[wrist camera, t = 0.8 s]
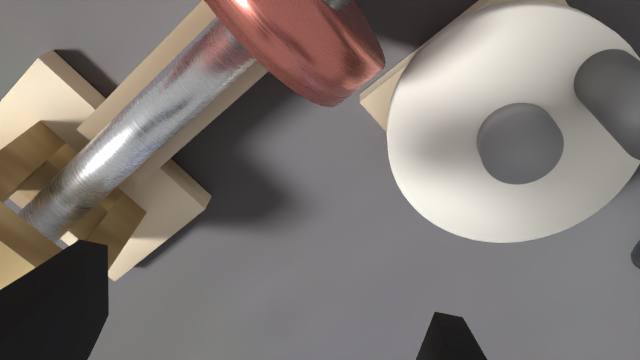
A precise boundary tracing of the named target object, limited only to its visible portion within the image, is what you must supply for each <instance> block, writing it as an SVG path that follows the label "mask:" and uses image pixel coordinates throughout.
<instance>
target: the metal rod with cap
mask: <svg viewBox="0 0 640 360" xmlns="http://www.w3.org/2000/svg"><path fill="white" fill-rule="evenodd" d="M205 2H206V3H207V4H208V6H209V7H210V8H211V10H212V11H213V12H214V14H215V15H216V17H215V18H214V19H213V20H212V21H211V22H210V23H209V24H208V25H207V26H206V27H205V28H204V29H203V30H202V31H201V32H200V33H199V34H198V35H197V36H196V37H195V38H194V39H193V40H192V41H191V42H190V43H189V44H188V45H187V46H186V47H185V48H184V49H183V50H182V51H181V52H180V53H179V54H178V55H177V56H176V57H175V58H174V59H173V60H172V61H171V62H170V63H169V64H168V65H167V66H166V67H165V68H164V69H163V70H162V71H161V72H160V73H159V74H158V75H157V76H156V77H155V78H154V79H153V80H152V81H151V82H150V83H149V84H148V85H147V86H146V87H145V88H144V89H143V90H142V91H141V92H140V93H139V94H138V95H137V96H136V97H135V98H134V99H133V100H132V101H131V102H130V103H129V104H128V105H127V106H126V107H125V108H124V109H123V110H121V111H120V112H119V113H118V114H117V115H116V116H115V117H114V118H113V119H112V120H111V121H110V122H109V123H108V124H107V125H106V126H105V127H104V128H103V129H102V130H101V131H100V132H99V133H98V134H97V135H96V136H95V137H94V138H93V139H92V140H91V141H90V142H89V143H88V144H87V145H86V146H85V147H84V148H83V149H82V150H81V151H80V152H79V153H78V154H77V155H76V156H75V157H74V158H73V159H72V160H71V161H70V162H69V163H68V164H67V165H66V166H65V167H64V168H63V169H62V170H61V171H60V172H59V173H58V174H57V175H56V176H55V177H54V178H53V179H52V180H51V181H50V182H49V183H48V184H47V185H46V186H45V187H44V188H43V189H42V190H41V191H40V192H39V193H38V194H37V195H36V196H35V197H34V198H33V199H32V200H31V201H30V202H29V203H28V204H27V205H26V206H25V207H24V208H22V209H21V210H20V211H19V212H18V213H17V214H18V215H19V216H20V217H21V218H23V219H24V220H25V221H27V222H28V223H29V224H30V225H32V226H33V227H34V228H36V229H37V230H38V231H39V232H41V233H42V234H43V235H44V236H46V237H47V238H48V239H50V240H51V241H52V242H53V243H56V242H57V241H58V240H59V239H60V238H61V237H62V236H64V235H65V234H66V233H67V232H68V231H69V230H70V229H71V228H72V227H73V226H75V225H76V224H77V223H78V222H79V221H80V220H81V219H82V218H83V217H84V216H86V215H87V214H88V213H89V212H90V211H91V210H92V209H93V208H94V207H96V206H97V205H98V204H99V203H100V202H101V201H102V200H103V199H104V198H105V197H107V196H108V195H109V194H110V193H111V192H112V191H113V190H114V189H115V188H117V187H118V186H119V185H120V184H121V183H122V182H123V181H124V180H125V179H126V178H128V177H129V176H130V175H131V174H132V173H133V172H134V171H135V170H136V169H137V168H139V167H140V166H141V165H142V164H143V163H144V162H145V161H146V160H147V159H149V158H150V157H151V156H152V155H153V154H154V153H155V152H156V151H157V150H158V149H160V148H161V147H162V146H163V145H164V144H165V143H166V142H167V141H168V140H169V139H171V138H172V137H173V136H174V135H175V134H176V133H177V132H178V131H179V130H181V129H182V128H183V127H184V126H185V125H186V124H187V123H188V122H189V121H190V120H192V119H193V118H194V117H195V116H196V115H197V114H198V113H199V112H200V111H202V110H203V109H204V108H205V107H206V106H207V105H208V104H209V103H210V102H211V101H213V100H214V99H215V98H216V97H217V96H218V95H219V94H220V93H221V92H222V91H224V90H225V89H226V88H227V87H228V86H229V85H230V84H231V83H232V82H234V81H235V80H236V79H237V78H238V77H239V76H240V75H241V74H242V73H243V72H245V71H246V70H247V69H248V68H249V67H250V66H251V65H252V64H253V63H255V62H256V61H258V62H259V63H260V64H261V65H262V66H263V67H265V68H266V69H267V70H268V71H269V72H270V73H271V74H273V75H274V76H275V77H276V78H277V79H278V80H280V81H281V82H282V83H284V84H285V85H286V86H288V87H289V88H290V89H292V90H293V91H295V92H296V93H298V94H299V95H301V96H302V97H304V98H306V99H308V100H309V101H311V102H313V103H316V104H318V105H321V106H325V107H335V106H337V105H339V104H340V103H341V102H342V101H344V100H345V99H346V98H347V97H349V96H350V95H351V94H352V93H354V92H355V91H356V90H357V89H359V88H360V87H361V86H363V85H364V84H365V83H366V82H368V81H369V80H370V79H371V78H373V77H374V76H375V75H376V74H378V73H379V72H380V71H381V70H383V69H384V67H385V57H384V54H383V51H382V48H381V46H380V44H379V42H378V40H377V38H376V36H375V34H374V32H373V30H372V28H371V27H370V25H369V23H368V22H367V20H366V18H365V17H364V15H363V14H362V12H361V11H360V9H359V7H358V6H357V5H356V3H355V2H354V0H205Z"/></svg>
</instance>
